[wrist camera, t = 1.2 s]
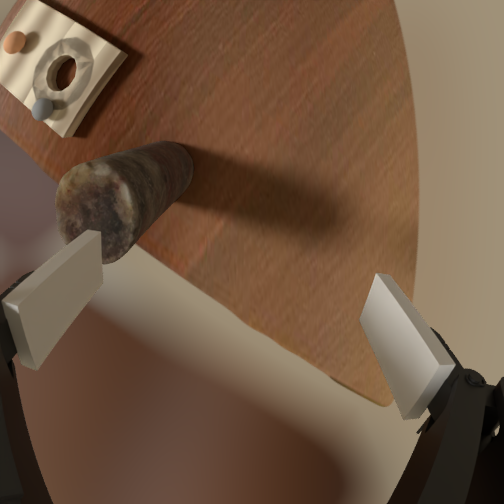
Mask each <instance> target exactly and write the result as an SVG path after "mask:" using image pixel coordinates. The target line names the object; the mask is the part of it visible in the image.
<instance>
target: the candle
mask: <svg viewBox="0 0 504 504" xmlns="http://www.w3.org/2000/svg"><path fill="white" fill-rule="evenodd" d="M193 172H194V166H193V161H192V158H191V156H190V155H189V153H188V152H187V150H186V149H185V148H183V147H182V146H181V145H179V144H177V143H173V142H169V141H158V142H154V143H150V144H147V145H143V146H140V147H137V148H133V149H129V150H126V151H122V152H118V153H115V154H111V155H108V156H104V157H101V158H98V159H95V160H91V161H88V162H85V163H82V164H79V165H77V166H75V167H73V168H72V169H71V170H70V171H69V172H67V173H66V174H65V175H64V176H63V177H62V179H61V181H60V184H59V187H58V189H57V193H56V201H55V206H56V214H57V225H58V231H59V233H60V235H61V238H62V240H63V242H64V243H65V244H66V245H68V244H69V243H70V242H72V241H73V240H74V239H76V238H77V237H78V236H80V235H81V234H82V233H84V232H85V231H86V230H93V231H100V232H101V251H102V264H109V263H113V262H115V261H117V260H118V259H120V258H121V257H122V256H123V255H125V254H126V253H127V252H128V251H129V249H130V248H131V247H132V246H133V245H134V244H135V243H136V242H137V241H138V240H139V238H140V237H141V236H142V235H143V234H144V233H145V232H146V230H147V229H148V228H149V227H150V226H151V225H152V224H153V223H154V222H155V221H156V220H157V219H158V217H160V216H161V215H162V214H163V213H164V212H165V211H166V210H167V209H168V208H169V207H170V206H171V205H172V204H173V203H174V202H175V201H176V200H177V199H178V198H179V197H180V196H181V195H182V194H183V192H184V191H185V190H186V189H187V188H188V186H189V184H190V182H191V180H192V176H193Z"/></svg>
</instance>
